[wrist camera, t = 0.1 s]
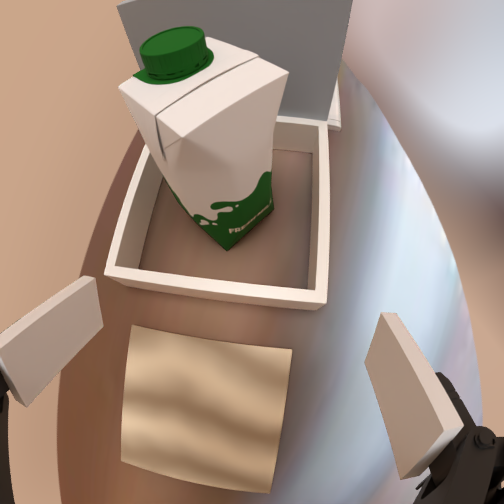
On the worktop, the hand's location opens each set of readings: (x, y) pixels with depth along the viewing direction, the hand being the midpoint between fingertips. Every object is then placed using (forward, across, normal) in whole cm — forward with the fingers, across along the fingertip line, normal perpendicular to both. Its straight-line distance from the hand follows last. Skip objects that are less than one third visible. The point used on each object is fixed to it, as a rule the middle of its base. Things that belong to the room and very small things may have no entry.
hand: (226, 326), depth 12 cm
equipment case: (+22, +4, -5) cm, 23 cm away
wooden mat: (+7, +4, +16) cm, 18 cm away
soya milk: (+20, +4, -2) cm, 21 cm away
